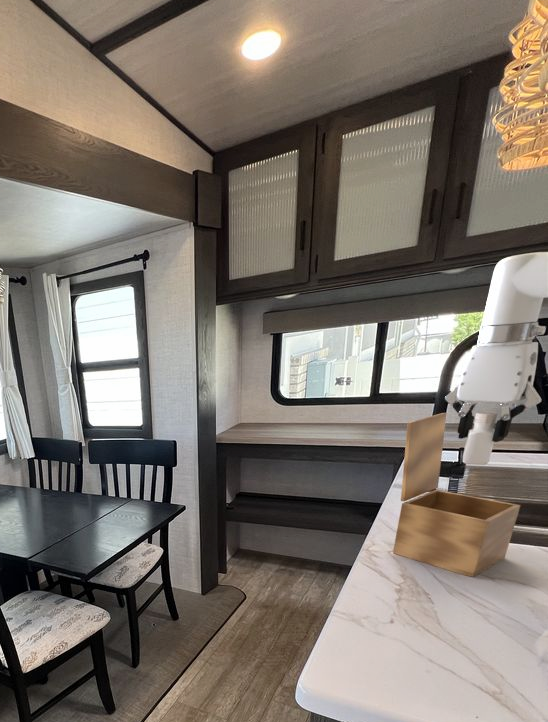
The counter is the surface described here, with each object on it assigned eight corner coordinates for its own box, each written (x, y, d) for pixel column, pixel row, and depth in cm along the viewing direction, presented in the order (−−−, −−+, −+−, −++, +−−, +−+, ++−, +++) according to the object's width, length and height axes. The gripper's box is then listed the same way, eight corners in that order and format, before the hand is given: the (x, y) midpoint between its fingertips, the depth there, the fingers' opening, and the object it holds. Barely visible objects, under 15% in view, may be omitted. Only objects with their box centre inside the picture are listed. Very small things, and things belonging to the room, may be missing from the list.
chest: (504, 558, 98) (520, 505, 94) (472, 577, 92) (487, 521, 88) (425, 537, 111) (435, 489, 106) (392, 553, 105) (402, 503, 100)
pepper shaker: (486, 460, 92) (499, 411, 88) (488, 465, 89) (501, 414, 85) (461, 459, 94) (472, 411, 90) (462, 464, 91) (473, 414, 87)
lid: (446, 412, 100) (442, 412, 101) (411, 422, 94) (407, 422, 95) (438, 487, 105) (434, 487, 106) (404, 501, 100) (400, 501, 100)
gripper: (578, 330, 77) (545, 440, 85) (461, 337, 91) (441, 431, 98) (559, 333, 74) (527, 448, 81) (441, 340, 88) (422, 437, 95)
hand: (480, 438), depth 90 cm, fingers closed on pepper shaker, 4 cm apart
